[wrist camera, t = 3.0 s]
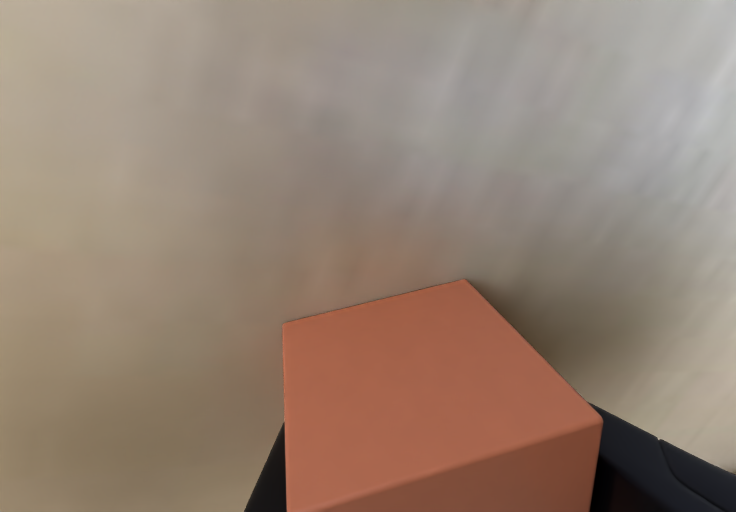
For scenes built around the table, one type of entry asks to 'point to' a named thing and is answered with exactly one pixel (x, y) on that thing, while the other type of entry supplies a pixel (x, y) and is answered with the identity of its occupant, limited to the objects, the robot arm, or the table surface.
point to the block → (430, 412)
